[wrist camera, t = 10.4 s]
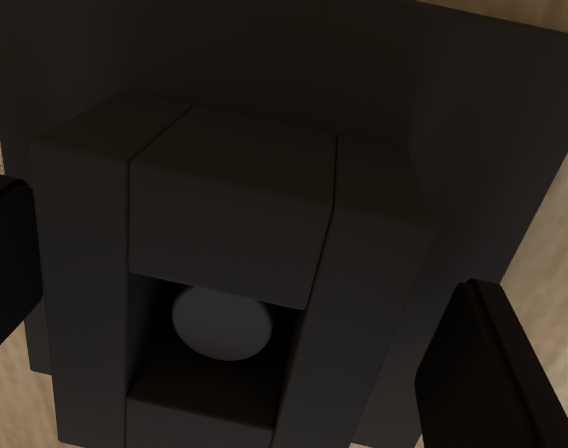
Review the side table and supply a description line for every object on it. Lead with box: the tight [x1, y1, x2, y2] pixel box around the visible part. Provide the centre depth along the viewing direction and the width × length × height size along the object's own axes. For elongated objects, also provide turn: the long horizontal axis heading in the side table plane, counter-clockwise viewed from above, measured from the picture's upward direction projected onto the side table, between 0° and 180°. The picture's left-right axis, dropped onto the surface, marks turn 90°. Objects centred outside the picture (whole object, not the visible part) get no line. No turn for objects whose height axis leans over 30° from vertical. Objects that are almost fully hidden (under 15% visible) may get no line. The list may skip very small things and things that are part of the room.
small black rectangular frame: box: [29, 90, 436, 448], centre depth 10 cm, size 6×7×3 cm
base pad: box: [0, 0, 568, 448], centre depth 10 cm, size 12×12×4 cm
